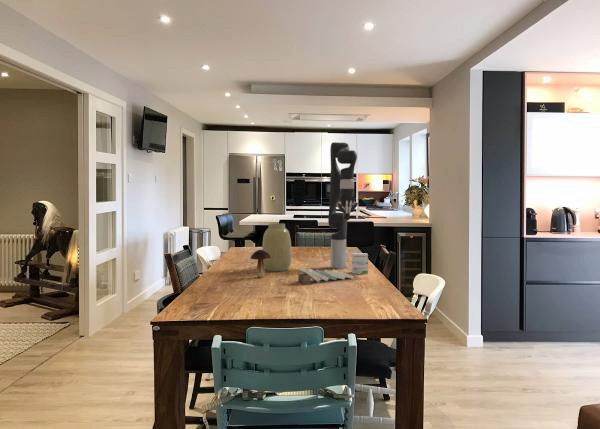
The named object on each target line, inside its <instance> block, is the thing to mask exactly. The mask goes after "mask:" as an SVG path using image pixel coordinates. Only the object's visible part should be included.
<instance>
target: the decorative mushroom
mask: <svg viewBox="0 0 600 429" xmlns="http://www.w3.org/2000/svg"><path fill="white" fill-rule="evenodd" d="M266 258H271V257H270V255H269V254H268V253H267V252H265V251H263V250H262V249H258V250H256V251H254V252H253V253H252V254H251V256H250V259H251V260H257V264H256V276H257V277H258V278H260V279H261V278H264V276H265V270H266V269H265V267H264V261H263V259H266Z"/></svg>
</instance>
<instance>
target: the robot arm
mask: <svg viewBox="0 0 600 429" xmlns="http://www.w3.org/2000/svg"><path fill="white" fill-rule="evenodd" d="M329 149H330V151H329V152H330V179H329V181H330V182H329V208H328V219H327V220H328V225H329V227H330V228H333V229H336V228H337V229H339V231H337V232H335V233H332V234H331V235H330V268H332V269H335V270H336V269H337V270H341V269H343V270H344V269H346V268H347V234H348V232H347V231H348V221H350V219H351V213H353V212H354V211H355V210H356V208H357V207H358V205H359V203H358V202H356V201H355V181H354V179H355V176H354V175H355V168H356V166H355V165H356V163H357V159H358V153H357V151H355V150H353V149H350V145H349V144H348V143H347V142H334V141H333V142H332V143H331V144H330V148H329ZM338 164H341V165H345V164H346V165H347V164H349V166H348V167H345V168H343V167H342V169H340V167H339V165H338ZM337 209H338V210H339V211H340V212H337Z"/></svg>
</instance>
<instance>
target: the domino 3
mask: <svg viewBox="0 0 600 429" xmlns="http://www.w3.org/2000/svg"><path fill="white" fill-rule="evenodd" d="M315 271H316V272H317V273H319V274H321V275H323V276H325V277H326V278H330V279H333V280H335V281H336V279H337V278H336V277H335V276H332V275H330V274H327V273H325V272H324V271H322V270H320V269H315Z"/></svg>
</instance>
